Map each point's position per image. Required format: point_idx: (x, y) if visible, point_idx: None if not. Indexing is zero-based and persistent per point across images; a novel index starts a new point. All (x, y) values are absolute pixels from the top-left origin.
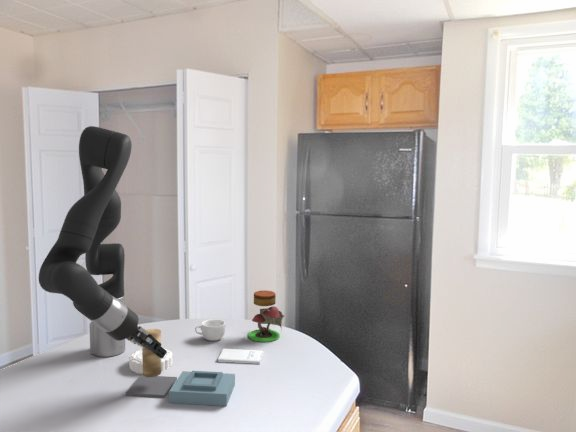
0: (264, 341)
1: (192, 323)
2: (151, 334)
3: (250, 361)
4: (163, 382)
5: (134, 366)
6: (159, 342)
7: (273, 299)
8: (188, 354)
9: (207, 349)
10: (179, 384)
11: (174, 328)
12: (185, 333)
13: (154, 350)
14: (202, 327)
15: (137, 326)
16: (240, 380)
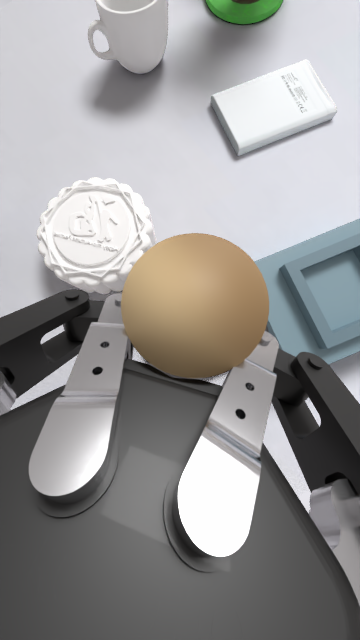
0: (267, 16)
1: (35, 16)
2: (238, 349)
3: (315, 120)
4: None
5: (87, 287)
6: (319, 367)
7: None
8: (146, 157)
9: (169, 114)
10: (291, 333)
11: (14, 59)
12: (59, 69)
13: (308, 415)
14: (111, 25)
15: (108, 442)
16: (347, 205)
